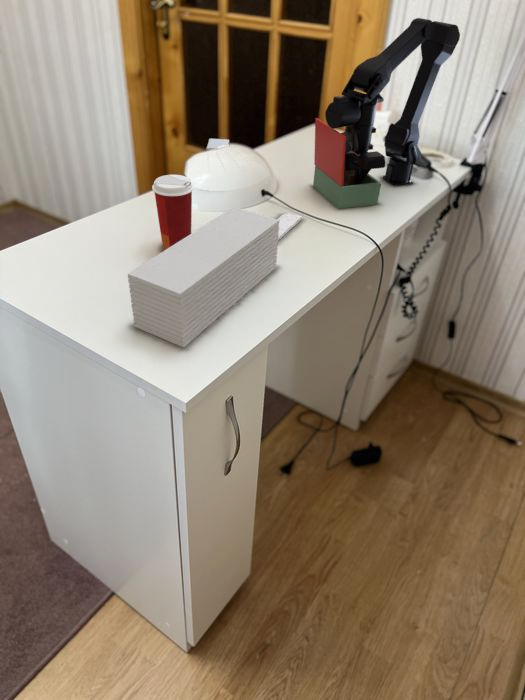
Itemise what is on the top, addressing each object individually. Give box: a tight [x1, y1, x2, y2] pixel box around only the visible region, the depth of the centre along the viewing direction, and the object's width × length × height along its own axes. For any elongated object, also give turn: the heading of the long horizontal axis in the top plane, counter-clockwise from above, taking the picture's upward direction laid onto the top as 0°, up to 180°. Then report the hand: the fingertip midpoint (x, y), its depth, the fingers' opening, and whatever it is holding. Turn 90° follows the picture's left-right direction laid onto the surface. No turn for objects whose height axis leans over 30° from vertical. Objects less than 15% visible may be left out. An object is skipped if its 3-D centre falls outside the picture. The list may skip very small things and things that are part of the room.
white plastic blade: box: [277, 212, 302, 241], centre depth 124 cm, size 5×15×1 cm, turn 152°
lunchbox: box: [312, 164, 382, 210], centre depth 141 cm, size 11×15×6 cm
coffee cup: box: [151, 174, 194, 251], centre depth 111 cm, size 8×8×15 cm
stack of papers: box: [127, 206, 279, 348], centre depth 99 cm, size 32×11×11 cm, turn 150°
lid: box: [313, 117, 346, 186], centre depth 133 cm, size 12×15×1 cm
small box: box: [205, 138, 231, 151], centre depth 142 cm, size 8×6×10 cm
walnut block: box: [343, 169, 366, 186], centre depth 141 cm, size 5×4×4 cm
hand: (352, 183), depth 141 cm, fingers closed on walnut block, 4 cm apart
